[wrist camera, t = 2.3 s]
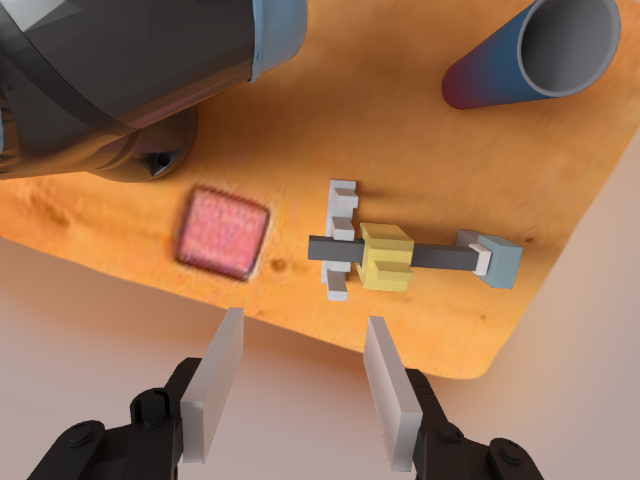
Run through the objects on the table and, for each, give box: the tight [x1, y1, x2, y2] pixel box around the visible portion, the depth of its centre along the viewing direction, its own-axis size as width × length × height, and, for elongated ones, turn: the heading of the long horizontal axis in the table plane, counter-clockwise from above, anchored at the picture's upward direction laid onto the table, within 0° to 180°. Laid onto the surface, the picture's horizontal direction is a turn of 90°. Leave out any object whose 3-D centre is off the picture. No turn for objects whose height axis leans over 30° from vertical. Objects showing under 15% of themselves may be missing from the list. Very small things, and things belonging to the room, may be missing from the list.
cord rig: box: [308, 179, 523, 301], centre depth 35 cm, size 21×13×9 cm, turn 85°
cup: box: [442, 0, 621, 109], centre depth 28 cm, size 7×7×15 cm
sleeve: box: [355, 222, 414, 292], centre depth 31 cm, size 4×5×9 cm
